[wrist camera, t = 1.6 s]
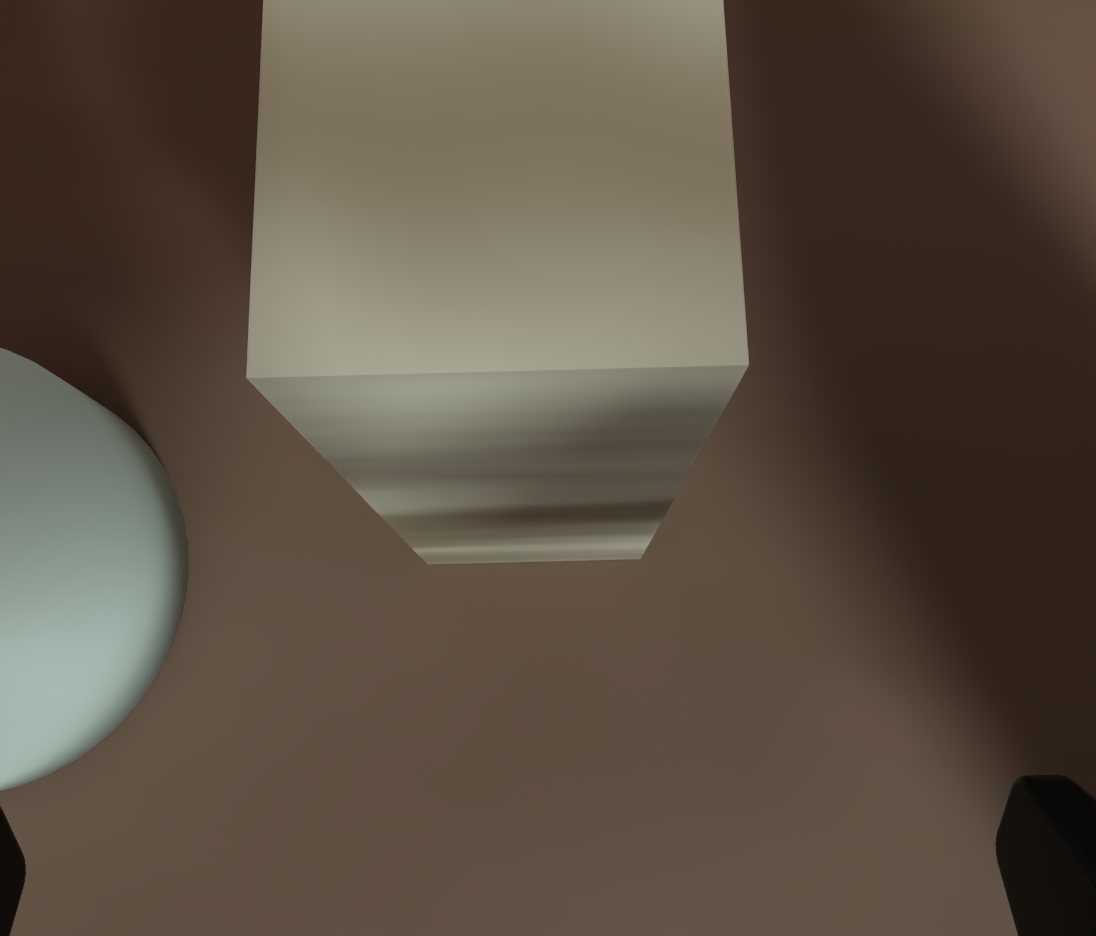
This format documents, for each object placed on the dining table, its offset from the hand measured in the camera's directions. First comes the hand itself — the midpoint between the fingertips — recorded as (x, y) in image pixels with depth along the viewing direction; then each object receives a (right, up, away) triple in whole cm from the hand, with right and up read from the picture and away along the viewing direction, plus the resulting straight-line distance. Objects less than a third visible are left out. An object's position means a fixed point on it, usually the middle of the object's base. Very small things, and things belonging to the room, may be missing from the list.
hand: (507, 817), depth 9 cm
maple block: (0, +3, +13) cm, 14 cm away
